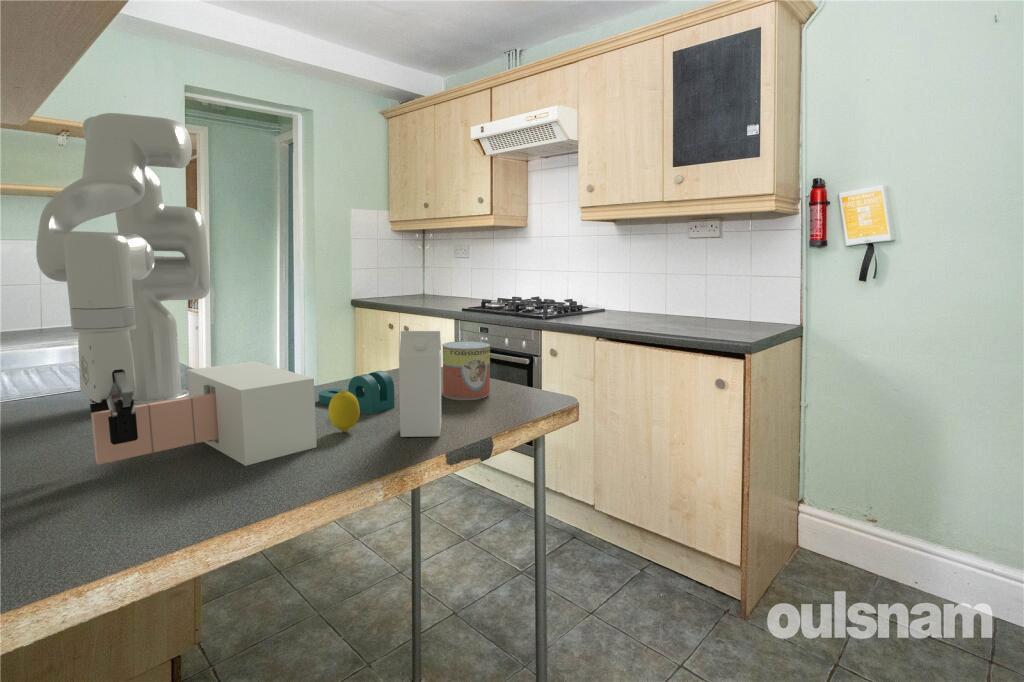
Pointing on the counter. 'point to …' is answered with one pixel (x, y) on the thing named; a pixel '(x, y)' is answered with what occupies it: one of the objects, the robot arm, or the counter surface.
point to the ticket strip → (159, 427)
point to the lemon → (344, 410)
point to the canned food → (466, 370)
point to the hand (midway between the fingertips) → (114, 434)
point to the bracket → (367, 392)
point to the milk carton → (420, 383)
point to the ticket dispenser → (258, 410)
